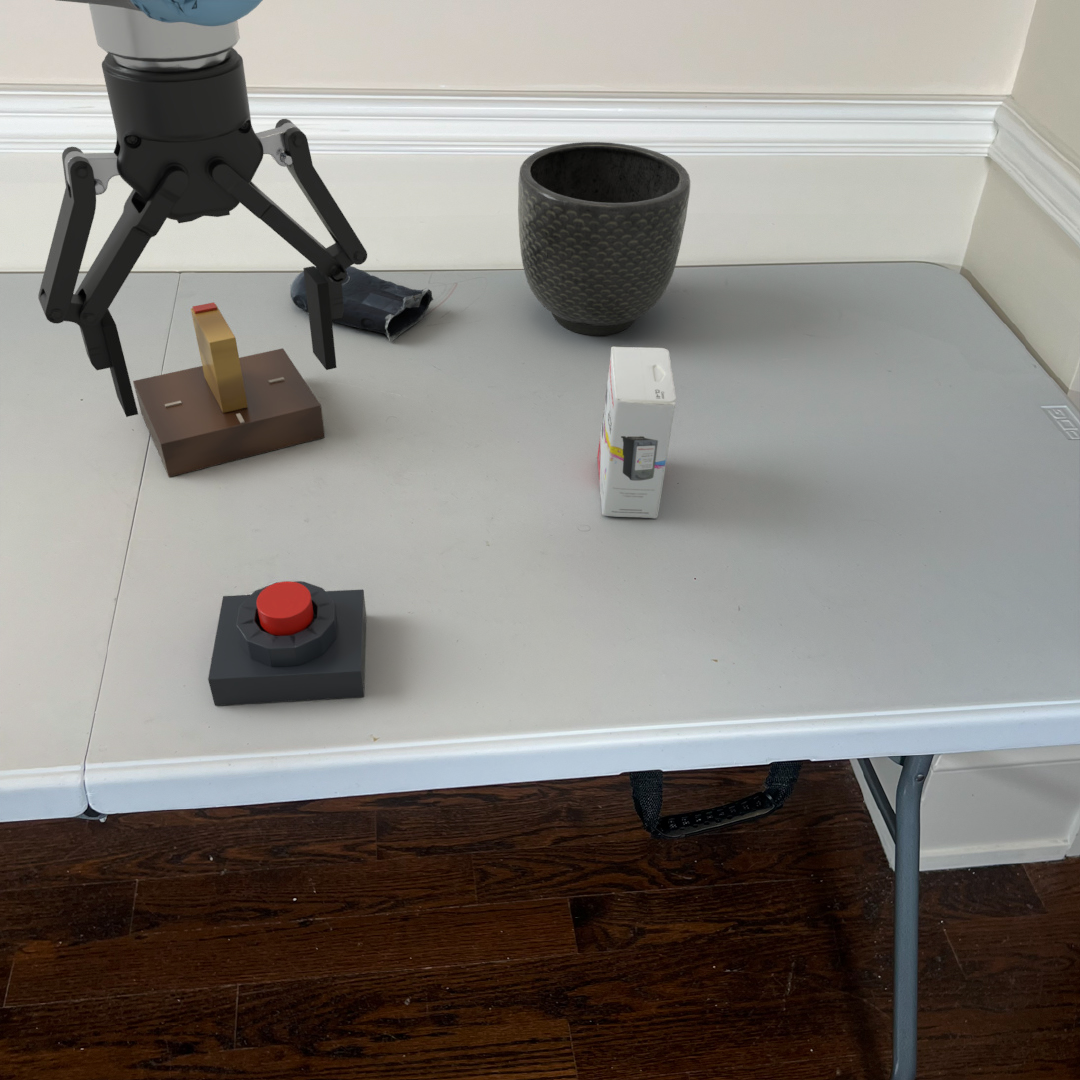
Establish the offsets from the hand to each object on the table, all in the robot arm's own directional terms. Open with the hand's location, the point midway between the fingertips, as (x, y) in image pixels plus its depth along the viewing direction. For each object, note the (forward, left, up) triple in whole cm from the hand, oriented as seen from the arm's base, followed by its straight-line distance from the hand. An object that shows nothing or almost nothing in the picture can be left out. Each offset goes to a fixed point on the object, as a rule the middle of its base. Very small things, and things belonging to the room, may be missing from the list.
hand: (230, 382), depth 71 cm
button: (-1, -11, -12) cm, 17 cm away
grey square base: (-1, -11, -16) cm, 20 cm away
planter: (+44, +23, -16) cm, 52 cm away
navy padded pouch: (+21, +35, -16) cm, 44 cm away
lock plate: (+3, +19, -16) cm, 25 cm away
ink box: (+31, -5, -16) cm, 35 cm away
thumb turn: (+3, +19, -13) cm, 23 cm away
